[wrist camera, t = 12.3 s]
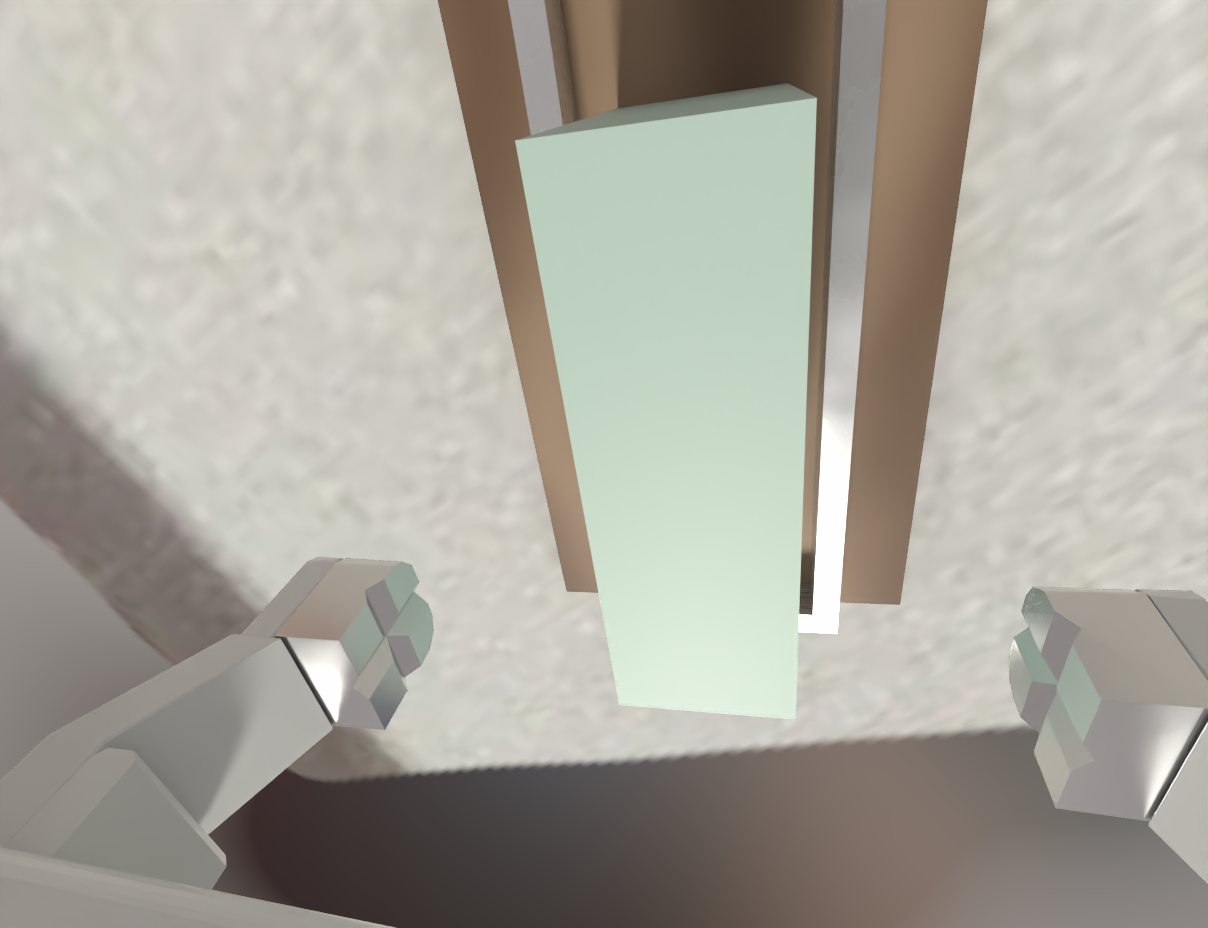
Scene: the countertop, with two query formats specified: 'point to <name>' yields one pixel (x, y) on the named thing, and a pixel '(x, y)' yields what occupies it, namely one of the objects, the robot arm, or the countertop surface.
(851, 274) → the track rails
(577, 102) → the track board
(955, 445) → the countertop surface
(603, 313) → the mint green rectangular block
